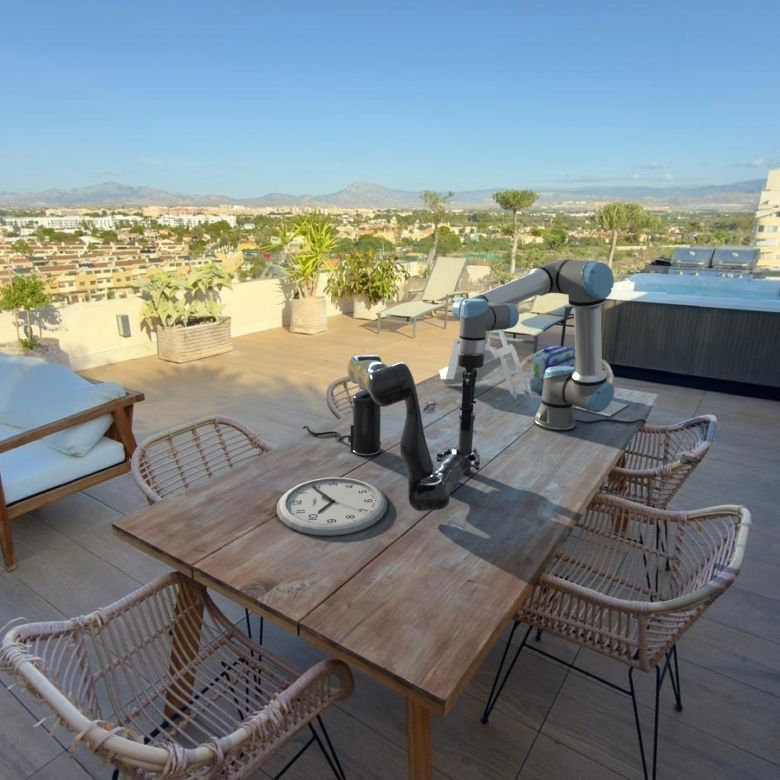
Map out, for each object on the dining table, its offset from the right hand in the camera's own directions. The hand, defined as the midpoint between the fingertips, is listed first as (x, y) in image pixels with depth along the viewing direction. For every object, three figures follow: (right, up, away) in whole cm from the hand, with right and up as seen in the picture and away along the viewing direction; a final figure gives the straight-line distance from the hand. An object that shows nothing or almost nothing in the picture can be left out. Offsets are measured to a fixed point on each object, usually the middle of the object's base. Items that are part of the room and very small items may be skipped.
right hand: (466, 426), depth 160 cm
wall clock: (-39, -20, -17) cm, 47 cm away
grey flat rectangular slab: (+68, +4, +67) cm, 95 cm away
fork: (-7, +4, +63) cm, 64 cm away
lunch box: (+52, +11, +88) cm, 103 cm away
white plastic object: (+18, +10, +84) cm, 86 cm away
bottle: (0, -14, +4) cm, 15 cm away
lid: (0, +4, -1) cm, 4 cm away
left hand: (+1, -8, +5) cm, 9 cm away
